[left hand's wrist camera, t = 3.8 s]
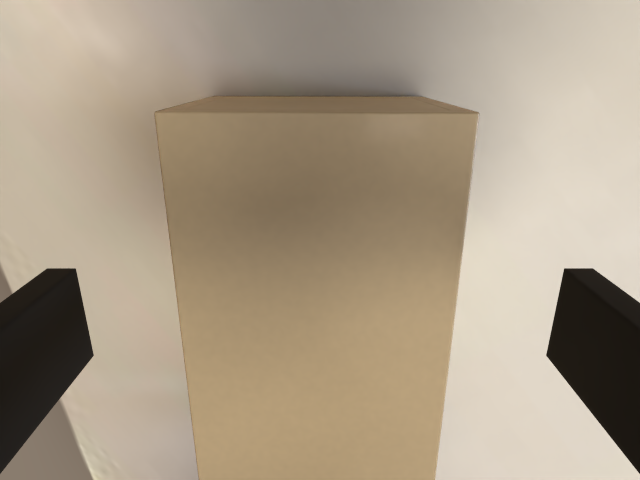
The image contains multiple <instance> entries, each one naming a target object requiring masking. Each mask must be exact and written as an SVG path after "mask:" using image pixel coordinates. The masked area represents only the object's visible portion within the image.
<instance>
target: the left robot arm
mask: <svg viewBox="0 0 640 480" xmlns="http://www.w3.org/2000/svg"><path fill="white" fill-rule="evenodd" d="M93 356H94V355H93V350H92V345H91V340H90V336H89V331H88V326H87V321H86V316H85V311H84V306H83V302H82V297H81V292H80V287H79V282H78V277H77V272H76V269H46V270H45V271H43V272H42V273H40V274H39V275H38V276H36V277H35V278H34V279H32V280H31V281H30V282H28V283H27V284H25V285H24V286H23V287H21V288H20V289H19V290H17V291H16V292H15V293H13V294H12V295H10V296H9V297H8V298H6V299H5V300H4V301H2V302H1V303H0V473H1V472H2V471H3V470H4V468H5V467H6V466H7V465H8V463H9V462H10V461H11V460H12V458H13V457H14V456H15V454H16V453H17V452H18V451H19V449H20V448H21V447H22V446H23V444H24V443H25V442H26V440H27V439H28V438H29V437H30V435H31V434H32V433H33V432H34V430H35V429H36V428H37V427H38V425H39V424H40V423H41V422H42V420H43V419H44V418H45V416H46V415H47V414H48V413H49V411H50V410H51V409H52V408H53V406H54V405H55V404H56V403H57V401H58V400H59V399H60V397H61V396H62V395H63V394H64V392H65V391H66V390H67V389H68V387H69V386H70V385H71V384H72V382H73V381H74V380H75V378H76V377H77V376H78V375H79V373H80V372H81V371H82V370H83V368H84V367H85V366H86V365H87V363H88V362H89V361H90V359H91V358H92V357H93ZM546 356H547V357H548V358H549V359H550V361H551V362H552V363H553V365H554V366H555V367H556V368H557V370H558V371H559V372H560V373H561V375H562V376H563V377H564V378H565V380H566V381H567V382H568V384H569V385H570V386H571V387H572V389H573V390H574V391H575V392H576V394H577V395H578V396H579V397H580V399H581V400H582V401H583V403H584V404H585V405H586V406H587V408H588V409H589V410H590V411H591V413H592V414H593V415H594V416H595V418H596V419H597V420H598V422H599V423H600V424H601V425H602V427H603V428H604V429H605V430H606V432H607V433H608V434H609V435H610V437H611V438H612V439H613V441H614V442H615V443H616V444H617V446H618V447H619V448H620V449H621V451H622V452H623V453H624V454H625V456H626V457H627V458H628V460H629V461H630V462H631V463H632V465H633V466H634V467H635V468H636V470H637V471H638V472H639V473H640V303H639V302H638V301H636V300H635V299H634V298H632V297H631V296H630V295H628V294H627V293H625V292H624V291H623V290H621V289H620V288H619V287H617V286H616V285H615V284H613V283H612V282H610V281H609V280H608V279H606V278H605V277H604V276H602V275H601V274H600V273H598V272H597V271H595V270H594V269H564V272H563V277H562V282H561V287H560V292H559V297H558V302H557V306H556V311H555V316H554V321H553V326H552V331H551V336H550V340H549V345H548V350H547V355H546Z"/></svg>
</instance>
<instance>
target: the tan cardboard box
mask: <svg viewBox="0 0 640 480" xmlns="http://www.w3.org/2000/svg"><path fill="white" fill-rule="evenodd" d="M154 115H155V123H156V131H157V139H158V148H159V156H160V164H161V172H162V180H163V189H164V197H165V205H166V213H167V222H168V230H169V238H170V246H171V254H172V263H173V271H174V279H175V287H176V295H177V304H178V312H179V320H180V328H181V337H182V345H183V353H184V361H185V369H186V378H187V386H188V394H189V402H190V411H191V419H192V427H193V435H194V443H195V452H196V460H197V468H198V476H199V480H435V475H436V467H437V458H438V450H439V442H440V434H441V426H442V417H443V409H444V401H445V393H446V384H447V376H448V368H449V360H450V352H451V343H452V335H453V327H454V319H455V311H456V302H457V294H458V286H459V278H460V269H461V261H462V253H463V245H464V237H465V228H466V220H467V212H468V204H469V196H470V187H471V179H472V171H473V163H474V154H475V146H476V138H477V130H478V122H479V113H478V112H475V111H472V110H468V109H464V108H461V107H457V106H454V105H450V104H447V103H443V102H440V101H436V100H432V99H429V98H425V97H359V96H212V97H208V98H204V99H201V100H197V101H193V102H189V103H185V104H182V105H178V106H174V107H170V108H166V109H163V110H159V111H156V112H155V113H154Z"/></svg>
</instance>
